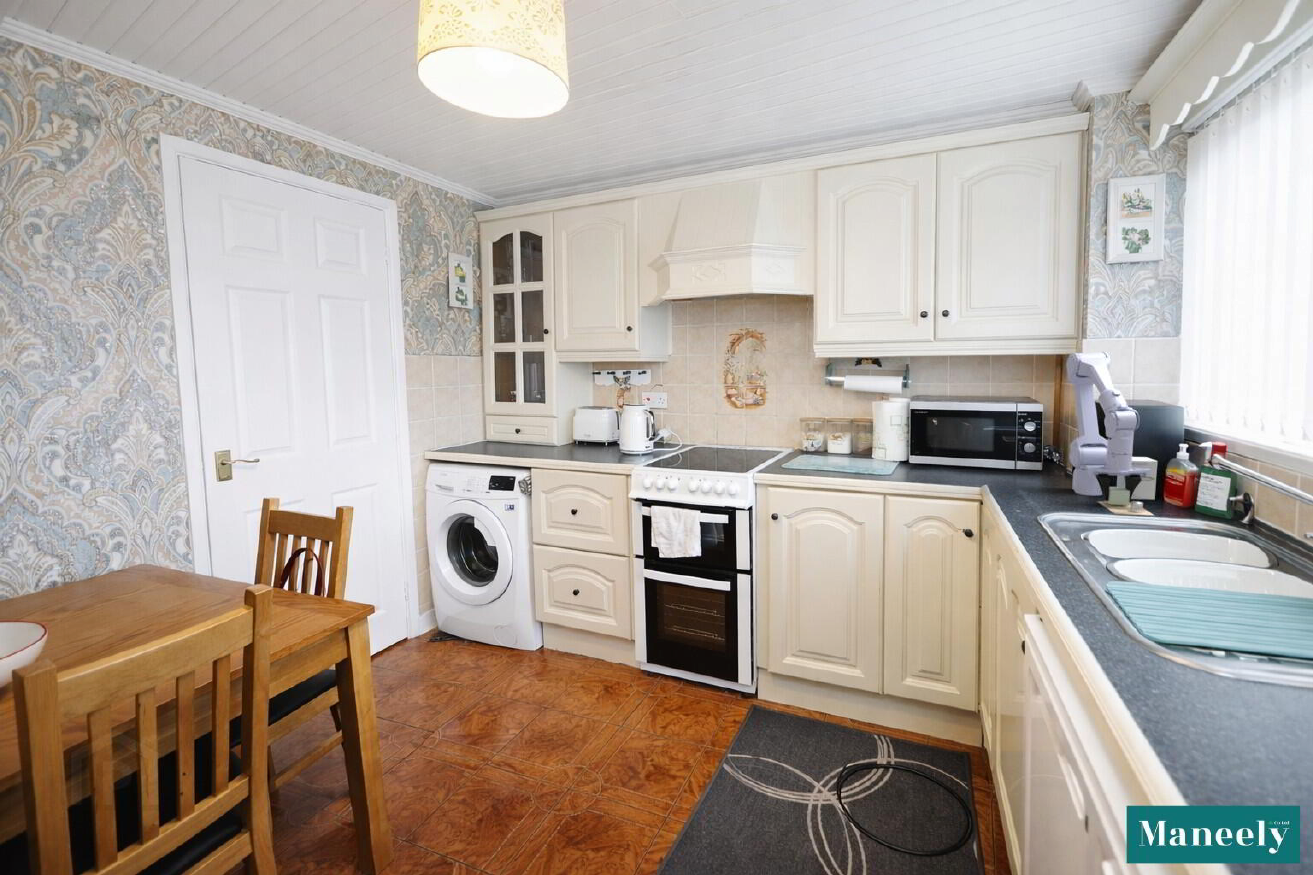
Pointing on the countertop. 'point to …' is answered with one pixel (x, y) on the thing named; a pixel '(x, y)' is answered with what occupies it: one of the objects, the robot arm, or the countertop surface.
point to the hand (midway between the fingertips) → (1116, 500)
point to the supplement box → (1147, 483)
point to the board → (1123, 509)
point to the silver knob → (1136, 506)
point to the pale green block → (1118, 496)
